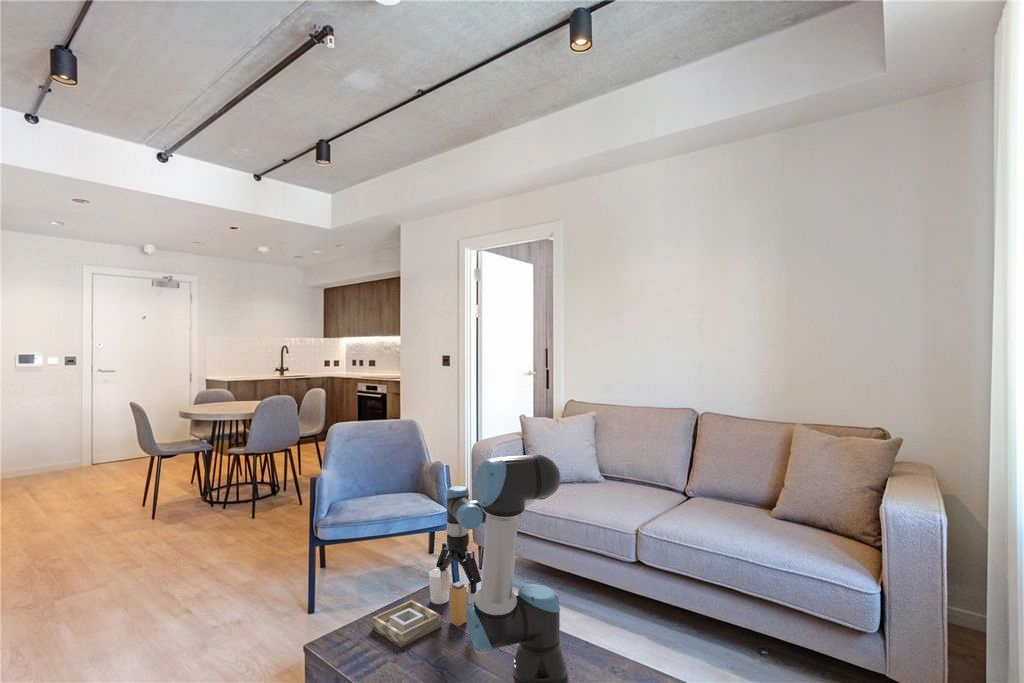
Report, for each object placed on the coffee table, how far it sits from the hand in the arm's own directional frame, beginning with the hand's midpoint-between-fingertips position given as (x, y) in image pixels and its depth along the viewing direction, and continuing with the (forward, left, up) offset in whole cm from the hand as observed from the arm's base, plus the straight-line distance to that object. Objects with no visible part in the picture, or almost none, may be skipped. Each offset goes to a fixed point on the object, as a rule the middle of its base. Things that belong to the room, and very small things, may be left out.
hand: (458, 595), depth 174 cm
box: (+10, +14, -9) cm, 19 cm away
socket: (+10, +14, -9) cm, 19 cm away
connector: (0, 0, -9) cm, 9 cm away
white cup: (+17, -6, -9) cm, 20 cm away
